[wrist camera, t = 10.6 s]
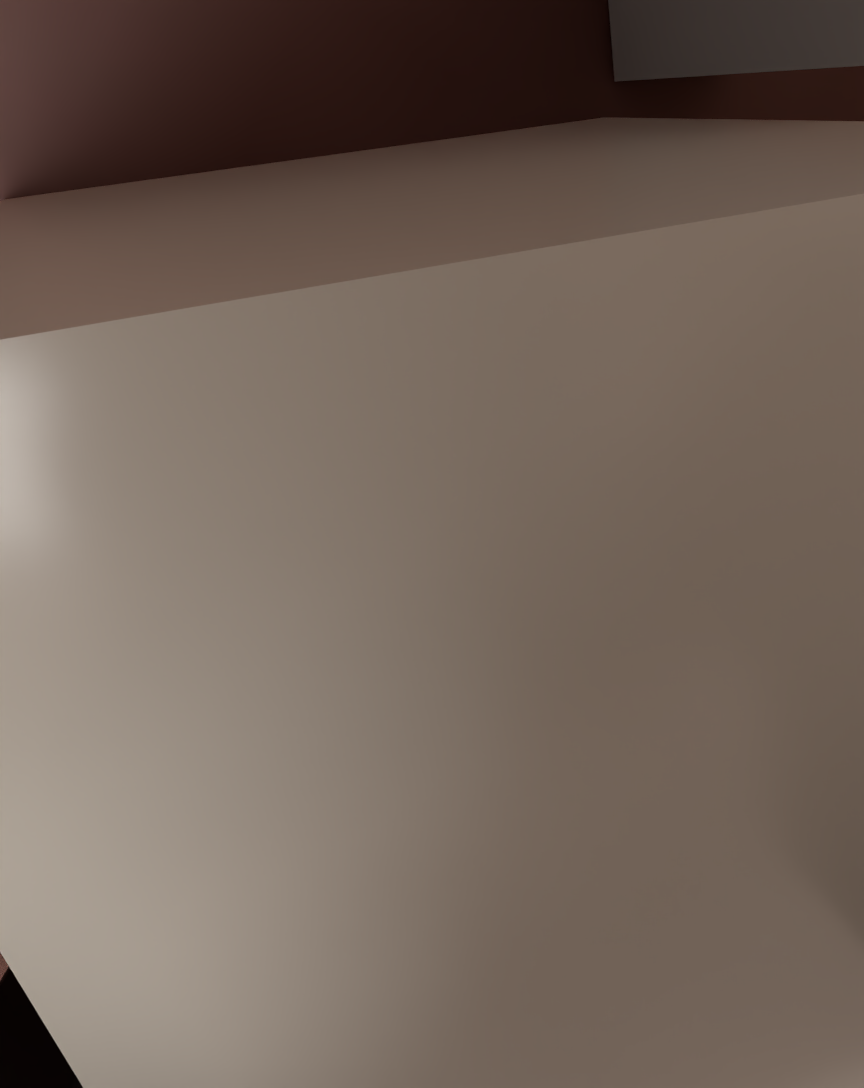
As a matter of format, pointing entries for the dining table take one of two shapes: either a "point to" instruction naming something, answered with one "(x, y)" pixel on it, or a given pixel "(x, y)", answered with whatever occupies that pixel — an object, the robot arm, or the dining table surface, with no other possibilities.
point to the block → (441, 614)
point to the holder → (733, 36)
